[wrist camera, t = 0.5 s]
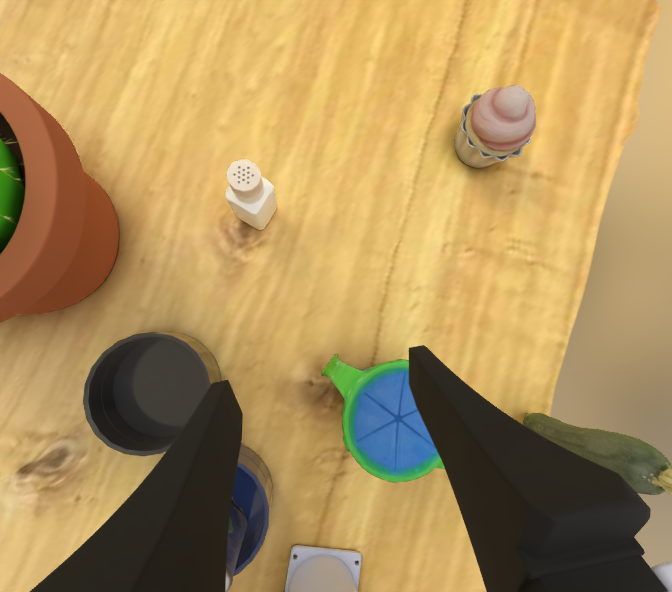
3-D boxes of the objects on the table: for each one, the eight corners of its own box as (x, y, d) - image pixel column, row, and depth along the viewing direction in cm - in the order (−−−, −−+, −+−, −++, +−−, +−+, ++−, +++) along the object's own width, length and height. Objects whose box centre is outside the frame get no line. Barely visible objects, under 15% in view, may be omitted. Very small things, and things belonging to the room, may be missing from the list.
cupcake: (513, 177, 44) (574, 133, 34) (448, 181, 43) (493, 137, 33) (502, 113, 45) (559, 52, 35) (438, 115, 44) (479, 53, 34)
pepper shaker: (262, 233, 39) (250, 203, 30) (234, 216, 39) (213, 181, 30) (279, 206, 40) (273, 169, 31) (251, 190, 40) (236, 147, 31)
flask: (252, 523, 36) (232, 604, 25) (230, 541, 35) (199, 632, 25) (204, 454, 36) (164, 506, 25) (181, 472, 35) (130, 532, 25)
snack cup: (448, 409, 40) (499, 435, 30) (392, 477, 38) (425, 529, 28) (357, 321, 40) (377, 318, 30) (297, 386, 38) (297, 406, 28)
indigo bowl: (262, 559, 36) (256, 591, 31) (150, 548, 35) (128, 580, 30) (281, 447, 37) (279, 463, 33) (174, 433, 36) (157, 448, 32)
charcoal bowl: (209, 446, 36) (197, 463, 32) (97, 432, 35) (68, 447, 31) (230, 341, 38) (221, 343, 33) (124, 324, 37) (100, 323, 32)
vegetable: (514, 444, 40) (722, 553, 20) (498, 412, 40) (687, 491, 21) (542, 426, 41) (770, 516, 21) (526, 395, 41) (736, 455, 21)
